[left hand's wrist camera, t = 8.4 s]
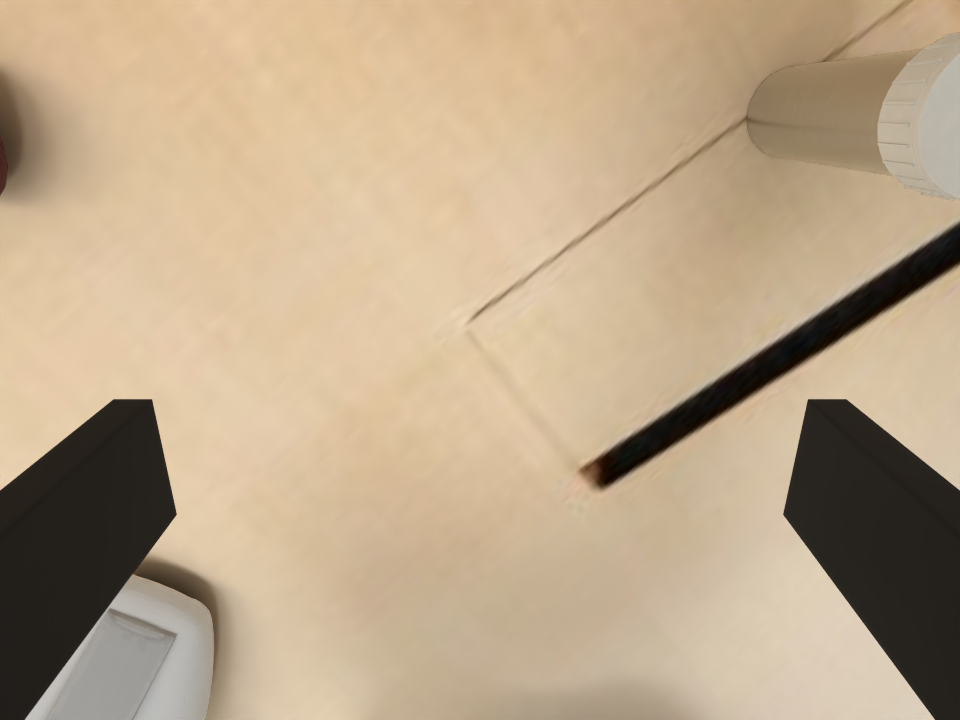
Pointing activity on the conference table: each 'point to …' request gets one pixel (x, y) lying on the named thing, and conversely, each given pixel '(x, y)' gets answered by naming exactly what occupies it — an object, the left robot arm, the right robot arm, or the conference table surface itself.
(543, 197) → the conference table surface
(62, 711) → the projector
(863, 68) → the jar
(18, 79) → the conference table surface
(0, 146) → the dark maroon ball
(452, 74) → the conference table surface
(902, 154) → the lid
